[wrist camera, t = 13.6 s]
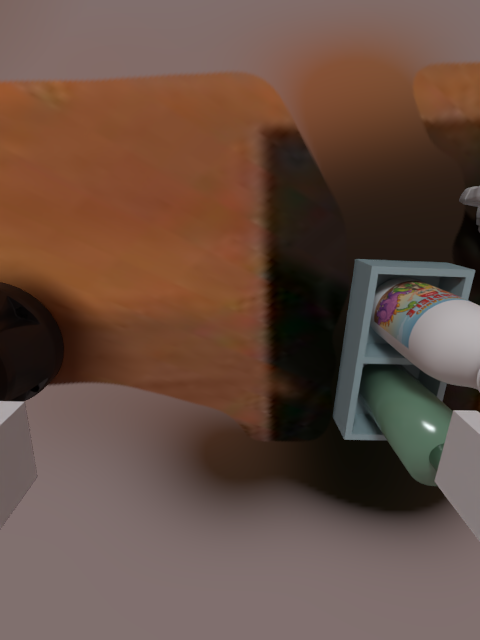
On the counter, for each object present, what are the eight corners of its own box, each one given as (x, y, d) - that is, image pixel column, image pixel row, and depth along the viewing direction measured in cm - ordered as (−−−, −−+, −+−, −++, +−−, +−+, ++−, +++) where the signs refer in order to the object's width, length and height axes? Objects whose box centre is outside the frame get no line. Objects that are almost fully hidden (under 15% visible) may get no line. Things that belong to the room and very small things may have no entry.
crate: (332, 416, 48) (344, 439, 43) (355, 259, 41) (372, 265, 36) (412, 417, 48) (432, 441, 44) (447, 262, 42) (475, 270, 37)
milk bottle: (437, 317, 43) (601, 405, 24) (379, 347, 44) (494, 454, 25) (414, 263, 41) (574, 313, 22) (354, 296, 42) (458, 371, 23)
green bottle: (351, 405, 47) (429, 534, 28) (358, 357, 45) (449, 463, 26) (402, 407, 47) (512, 534, 29) (412, 359, 45) (539, 464, 27)
